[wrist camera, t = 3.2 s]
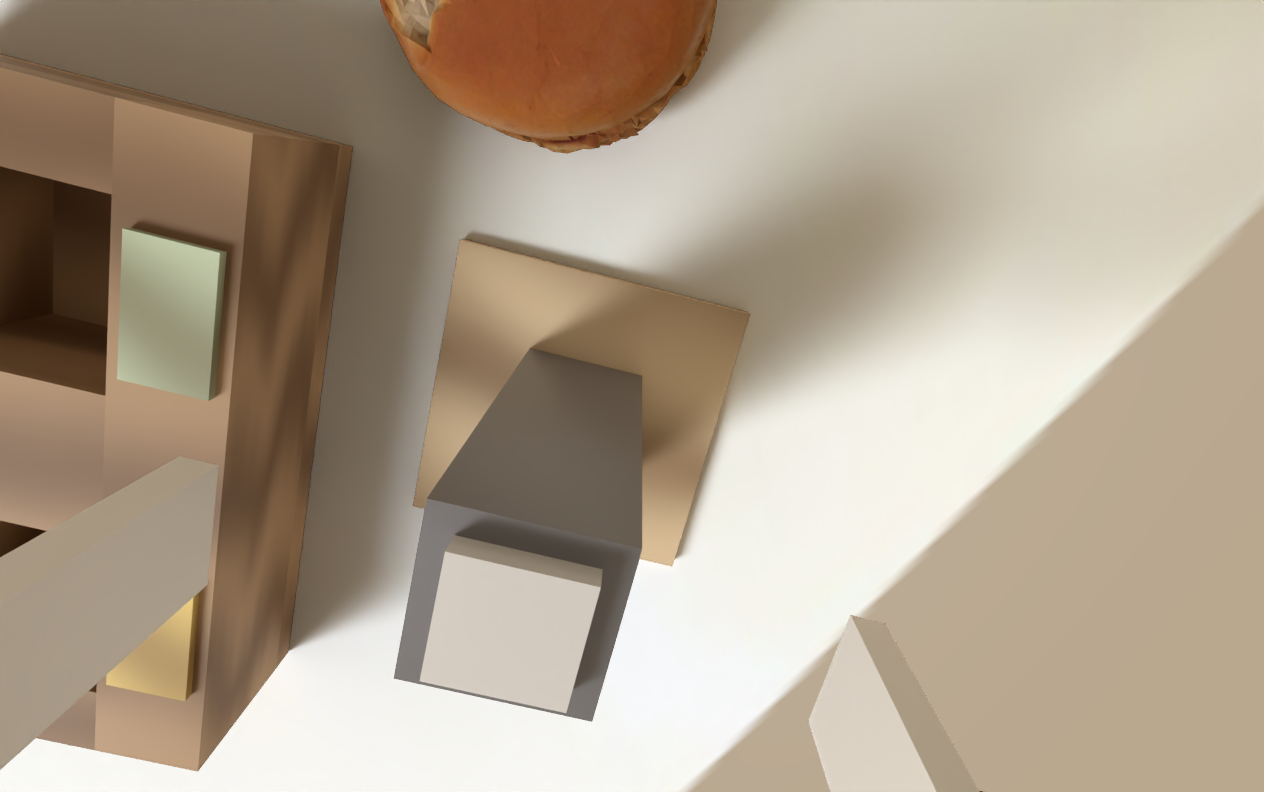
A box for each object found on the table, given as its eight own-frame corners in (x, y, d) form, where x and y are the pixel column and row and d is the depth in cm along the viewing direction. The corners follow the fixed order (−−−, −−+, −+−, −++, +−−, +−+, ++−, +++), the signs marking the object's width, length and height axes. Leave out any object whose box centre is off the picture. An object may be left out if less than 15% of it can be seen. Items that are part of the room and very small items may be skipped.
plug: (529, 347, 24) (416, 513, 12) (642, 375, 24) (642, 566, 12) (507, 452, 25) (382, 700, 13) (614, 477, 25) (590, 744, 13)
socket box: (-27, 46, 22) (-284, -7, 16) (352, 146, 22) (245, 132, 16) (-14, 586, 27) (-198, 698, 21) (288, 651, 28) (191, 778, 22)
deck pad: (463, 238, 23) (459, 239, 23) (747, 312, 24) (749, 314, 23) (416, 501, 26) (412, 505, 26) (671, 560, 27) (672, 566, 26)
